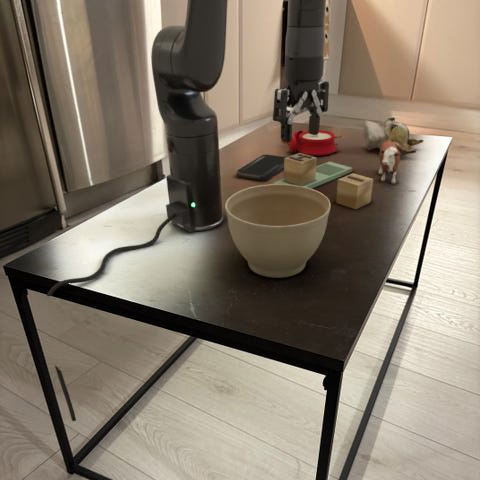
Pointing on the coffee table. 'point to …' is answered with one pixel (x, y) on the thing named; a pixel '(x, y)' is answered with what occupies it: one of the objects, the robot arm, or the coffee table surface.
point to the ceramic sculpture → (389, 135)
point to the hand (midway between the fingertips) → (300, 138)
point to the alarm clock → (313, 143)
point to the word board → (323, 174)
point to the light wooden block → (299, 169)
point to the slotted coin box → (354, 191)
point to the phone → (262, 167)
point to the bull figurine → (389, 159)
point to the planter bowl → (277, 226)
